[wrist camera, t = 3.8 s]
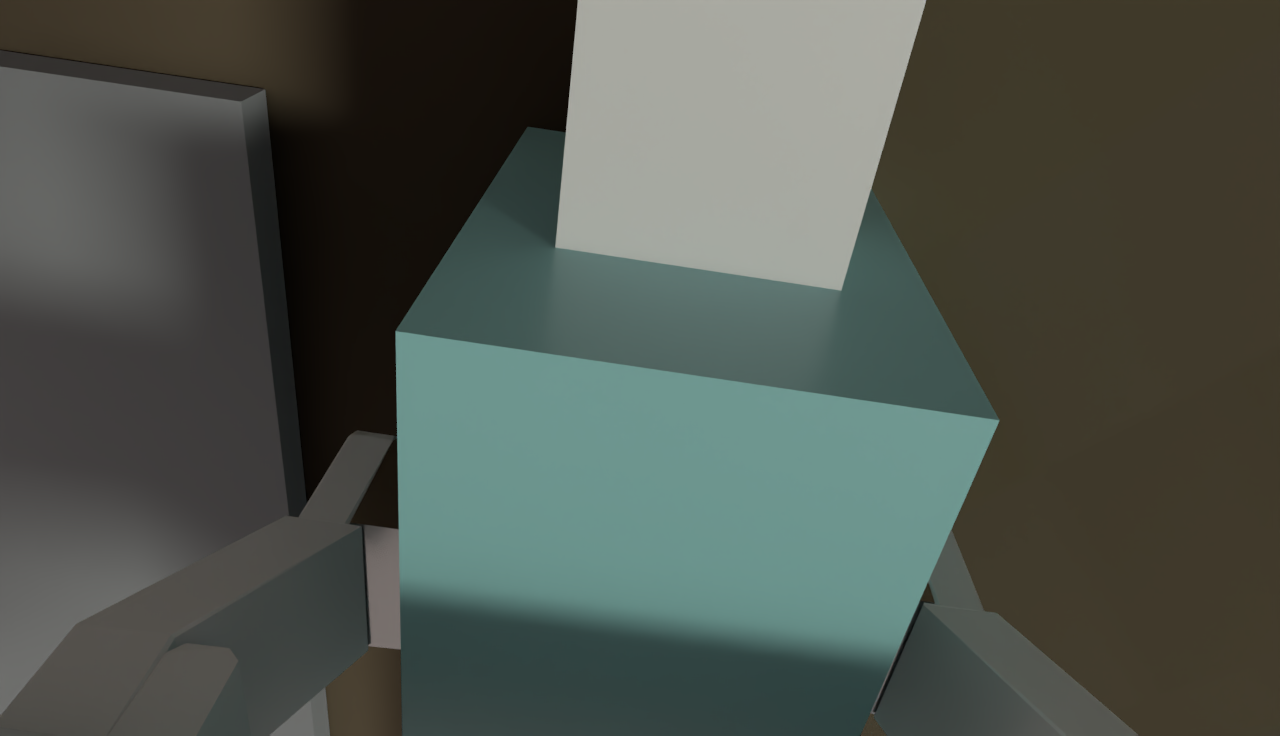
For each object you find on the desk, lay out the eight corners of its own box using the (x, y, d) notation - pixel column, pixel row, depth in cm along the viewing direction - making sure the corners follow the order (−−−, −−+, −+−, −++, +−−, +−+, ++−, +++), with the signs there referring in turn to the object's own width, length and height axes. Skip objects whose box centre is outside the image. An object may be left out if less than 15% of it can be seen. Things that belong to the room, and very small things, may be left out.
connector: (544, -110, 8) (387, -87, 4) (930, -47, 9) (1167, 39, 4) (485, 753, 16) (408, 1079, 12) (692, 781, 16) (692, 1115, 12)
